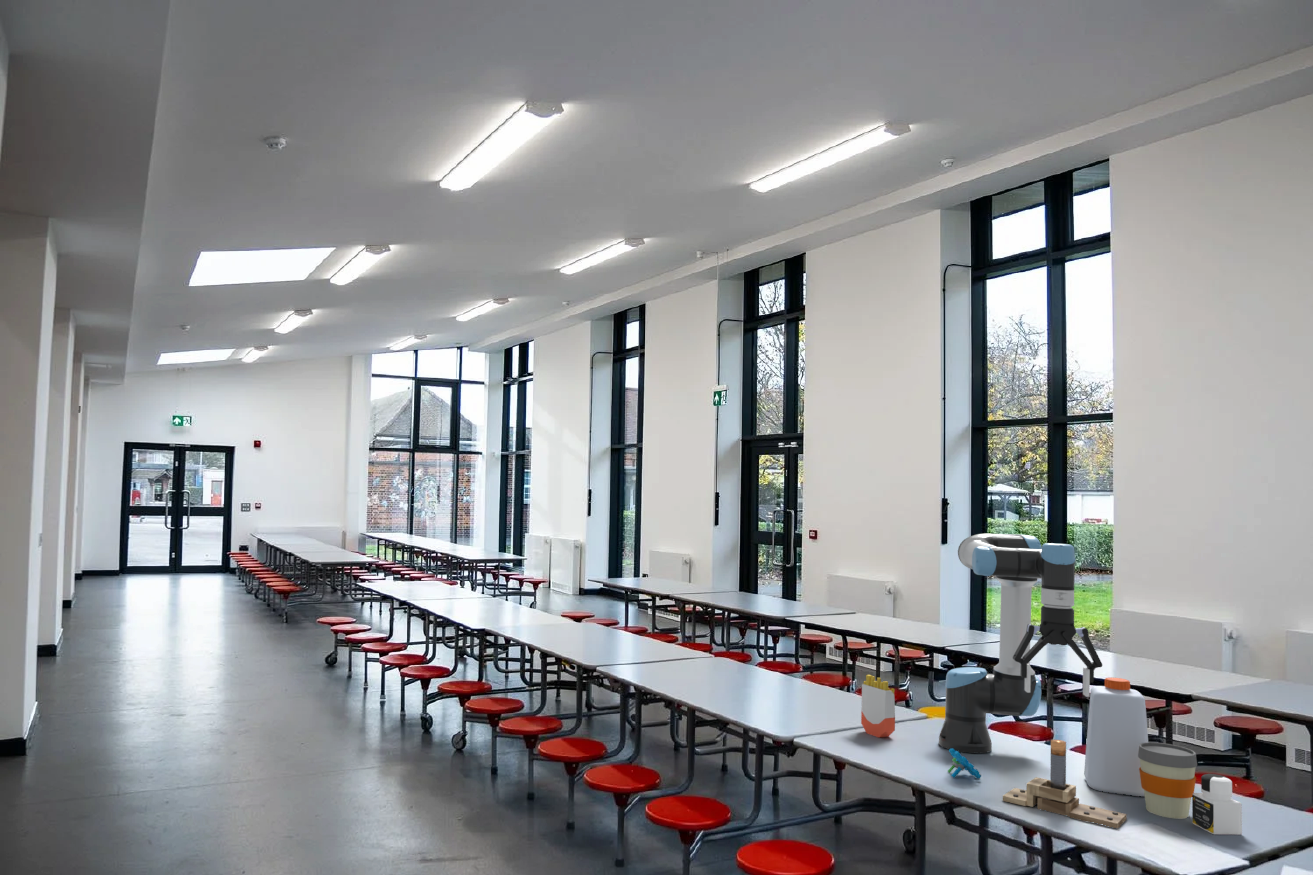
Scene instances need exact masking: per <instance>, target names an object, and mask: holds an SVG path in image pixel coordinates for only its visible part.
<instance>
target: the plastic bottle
mask: <svg viewBox="0 0 1313 875" xmlns="http://www.w3.org/2000/svg"><path fill="white" fill-rule="evenodd" d="M1146 706H1147V705H1146V698H1145V697H1144V696H1143V694H1142V693H1141V692H1139V691H1138V690H1136V689H1134V688H1133V689H1132V688H1131V681H1130V680H1128V679H1125V678H1121V677H1105V678H1104V685H1094V686H1092V687H1091V689H1090V692H1089V706H1088V720H1087V721H1088V722H1087V731H1086V733H1087V734H1086V743H1085V744H1086V746H1085V759H1084V770H1083V771H1084V772H1083V776H1084V779H1085V781H1086V784H1087V785H1088V786H1089V787H1090V788H1091V789H1093V790H1096V791H1098V792H1102V791H1103V792H1102V793H1108V792H1109V794H1115V793H1117V795H1123V794H1126V795H1125V796H1130V795H1132V796H1131V797H1139V796H1141V797H1142V798H1143V797H1145V795H1144V789H1143V788H1142V786H1141V779H1140V771H1139V768H1140V767H1141V765H1140V758H1139V757H1138V751H1139V745H1140V744H1141V743H1149V734H1148V732H1149V731H1148V720H1147V709H1146V708H1147V707H1146Z"/></svg>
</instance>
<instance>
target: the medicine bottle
mask: <svg viewBox="0 0 1313 875" xmlns="http://www.w3.org/2000/svg"><path fill="white" fill-rule="evenodd" d="M1200 777H1201V778H1200V784H1201V786H1200V789H1201V790H1200V791H1201V792H1194V793H1193V794H1192V797H1191V801H1192V802H1191V803H1192V804H1191V805H1192V806H1191V808H1192V809H1191V810H1192V812H1191V813H1192V815H1191V816H1192V817H1191V818H1192V820H1191V821H1192V824H1193V826H1196V827H1198V828H1200V829H1202V830H1203V831H1206V832H1208V833H1210V834H1212V835H1215V836H1216V835H1220V836H1221V835H1227V836H1229V835H1230V836H1232V835H1233V836H1235V835H1236V836H1241V835H1242V834H1243V820H1242V819H1243V812H1242V811H1243V809H1242V808H1243V806H1242V805H1243V804H1242V803H1241V801H1237V800H1235V799H1234V798H1232V797H1233V781H1232V780H1231V779H1230V778H1228V777H1227V776H1224V775H1221V774H1215V773H1206V774H1203V775H1202V776H1200Z"/></svg>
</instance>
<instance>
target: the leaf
mask: <svg viewBox="0 0 1313 875" xmlns="http://www.w3.org/2000/svg"><path fill="white" fill-rule="evenodd" d="M1038 797H1044V798H1048V799H1052V800H1057V801H1061V802H1066V803H1068V802H1069V801H1070V800H1071V799H1073V798H1074V797H1077V785H1074V784H1069V783H1066V789H1065V790H1059V789H1055V788H1050V779H1048V778H1044V777H1043V778H1041V777H1037V776H1036V777H1034V778H1033V779H1031V780H1029V781H1028V782H1026V789H1022V788H1017V787H1014V788H1012V789H1011V790H1009V791H1008V792H1006V793H1005V794H1003V795H1002V802H1006V803H1011V804H1014V805H1015V804H1016V805H1019V806H1023V807H1026V806H1028V807H1031V808H1032V807H1033V808H1034V806H1036V805H1038Z"/></svg>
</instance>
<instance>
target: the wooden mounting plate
mask: <svg viewBox="0 0 1313 875" xmlns="http://www.w3.org/2000/svg"><path fill="white" fill-rule="evenodd" d="M1040 809H1041V810H1040ZM1037 810H1040V811H1044V810H1046V811H1045V812H1050V813H1054V814H1057V815H1061V816H1065V815H1067V816H1066V817H1070V819H1073V818H1074V820H1078V821H1082V822H1086V823H1090V822H1094V823H1098V824H1097V825H1099V824H1103V825H1106V826H1105V827H1107V826H1109V827H1108V828H1111V827H1113V829H1115V828H1117V829H1119V828H1120V827H1121V826H1122V825H1123V824H1124V823H1125V821H1127V819H1128V817H1127V816H1128V814H1127V813H1124V812H1123V813H1122V812H1118V811H1114V810H1110V809H1106V808H1102V807H1097V806H1092V805H1089V804H1083V803H1080V798H1079V797H1077V796H1075V797H1074V798H1073V799H1071V800H1070V801H1069V802H1068V803H1063V802H1059V801H1055V800H1050V799H1048V798H1044V797H1038V803H1037ZM1094 823H1093V824H1094ZM1103 825H1102V826H1103ZM1117 829H1116V830H1117Z"/></svg>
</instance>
